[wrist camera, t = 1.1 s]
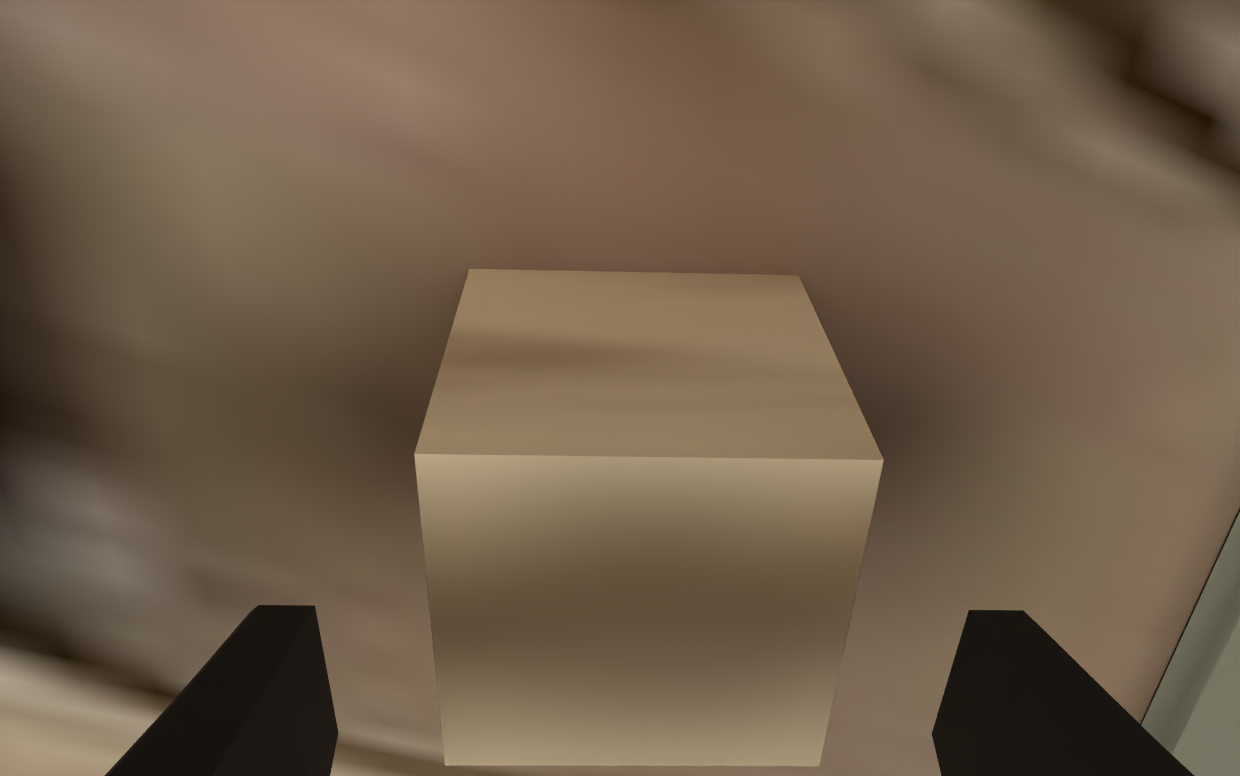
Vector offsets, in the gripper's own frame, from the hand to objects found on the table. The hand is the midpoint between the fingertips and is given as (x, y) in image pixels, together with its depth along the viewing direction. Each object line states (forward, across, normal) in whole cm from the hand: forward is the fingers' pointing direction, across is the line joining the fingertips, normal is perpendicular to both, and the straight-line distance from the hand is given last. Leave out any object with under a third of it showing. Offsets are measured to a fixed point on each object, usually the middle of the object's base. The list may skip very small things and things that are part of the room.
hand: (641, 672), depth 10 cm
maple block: (+6, 0, 0) cm, 6 cm away
